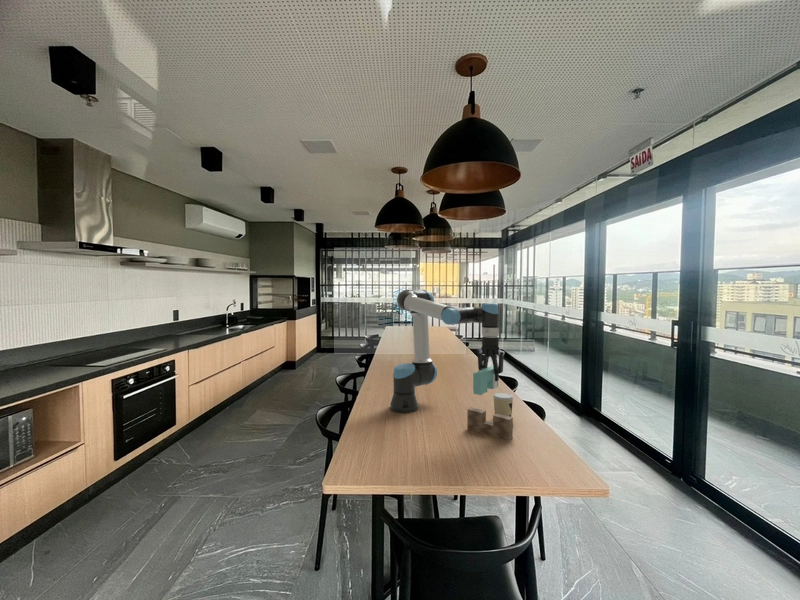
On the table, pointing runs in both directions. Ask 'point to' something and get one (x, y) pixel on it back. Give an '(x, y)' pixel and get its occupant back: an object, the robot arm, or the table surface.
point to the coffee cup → (503, 404)
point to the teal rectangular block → (483, 380)
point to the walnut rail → (490, 424)
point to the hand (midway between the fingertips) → (490, 387)
